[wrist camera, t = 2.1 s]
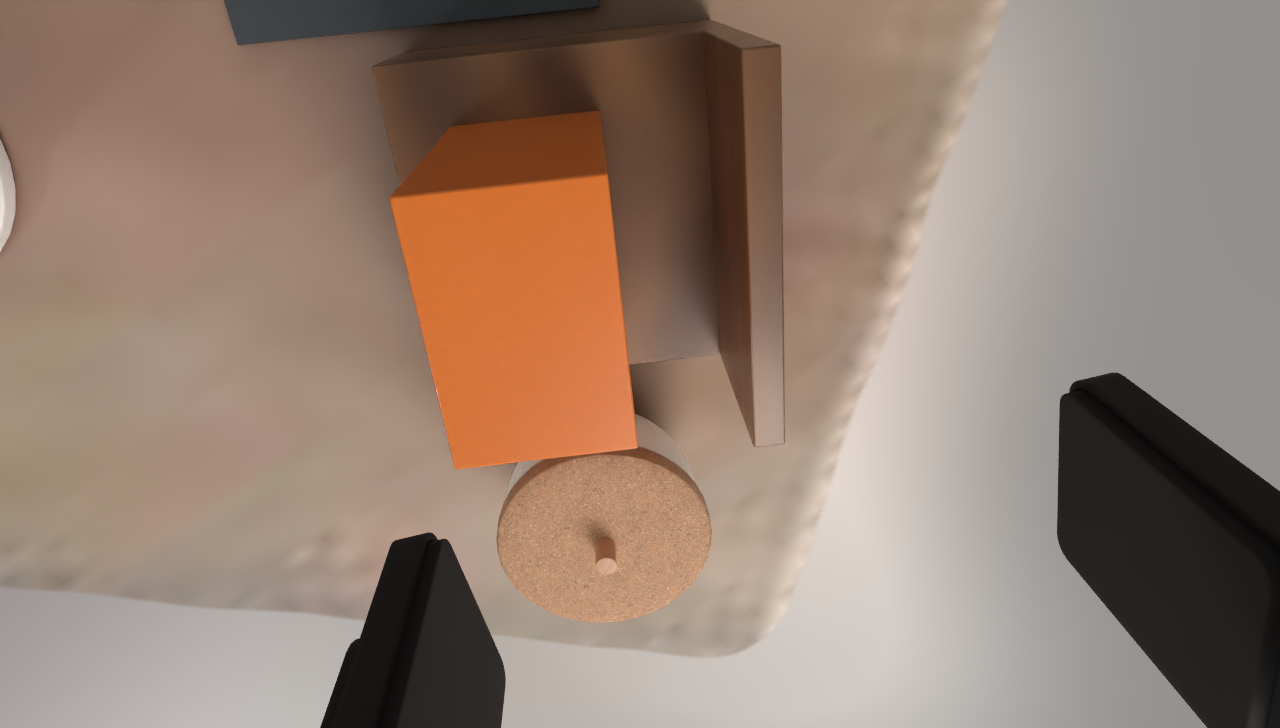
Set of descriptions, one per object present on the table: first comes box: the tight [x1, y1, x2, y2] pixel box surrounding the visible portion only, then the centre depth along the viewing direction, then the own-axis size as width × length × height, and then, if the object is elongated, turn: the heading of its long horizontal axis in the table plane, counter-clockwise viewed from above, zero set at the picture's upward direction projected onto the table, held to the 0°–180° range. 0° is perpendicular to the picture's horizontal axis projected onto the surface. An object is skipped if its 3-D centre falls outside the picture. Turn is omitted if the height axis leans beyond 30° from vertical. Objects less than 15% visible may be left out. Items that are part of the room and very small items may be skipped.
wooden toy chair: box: [372, 20, 785, 447], centre depth 32 cm, size 14×14×14 cm
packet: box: [389, 111, 638, 469], centre depth 28 cm, size 6×9×11 cm, turn 5°
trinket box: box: [497, 414, 712, 622], centre depth 41 cm, size 11×11×9 cm
